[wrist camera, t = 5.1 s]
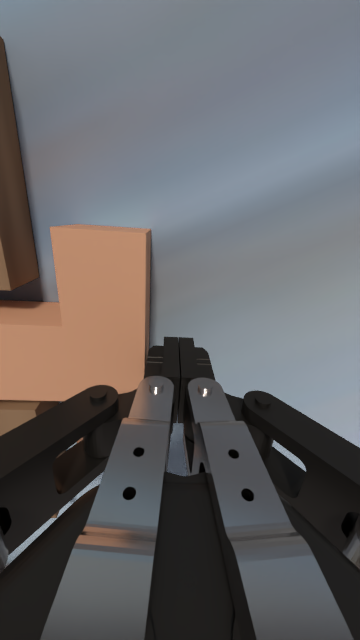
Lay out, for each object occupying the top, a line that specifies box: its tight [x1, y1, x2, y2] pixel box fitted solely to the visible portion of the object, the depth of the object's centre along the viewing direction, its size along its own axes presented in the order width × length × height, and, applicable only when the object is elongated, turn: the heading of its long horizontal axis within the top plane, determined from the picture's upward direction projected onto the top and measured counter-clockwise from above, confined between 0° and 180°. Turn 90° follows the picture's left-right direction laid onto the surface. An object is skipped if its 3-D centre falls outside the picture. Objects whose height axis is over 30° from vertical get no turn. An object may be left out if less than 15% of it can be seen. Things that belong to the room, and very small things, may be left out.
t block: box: [0, 224, 151, 443], centre depth 13 cm, size 10×12×3 cm
